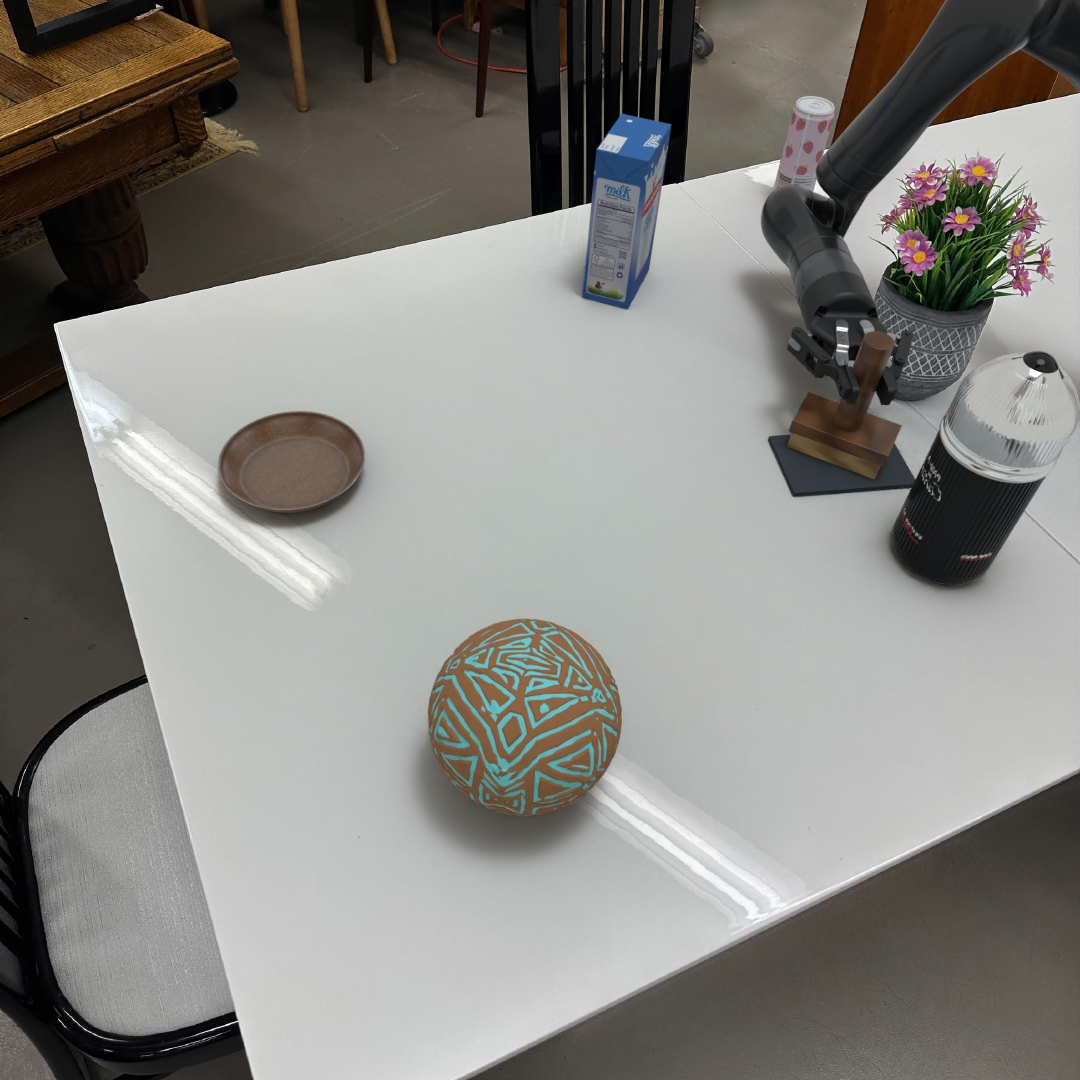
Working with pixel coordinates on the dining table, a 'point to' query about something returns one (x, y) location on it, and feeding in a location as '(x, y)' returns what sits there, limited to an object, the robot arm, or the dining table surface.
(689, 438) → the dining table surface
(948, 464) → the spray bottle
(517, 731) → the decorative sphere
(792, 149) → the beverage can
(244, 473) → the saucer
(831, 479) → the mat
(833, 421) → the brush
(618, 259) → the milk carton
